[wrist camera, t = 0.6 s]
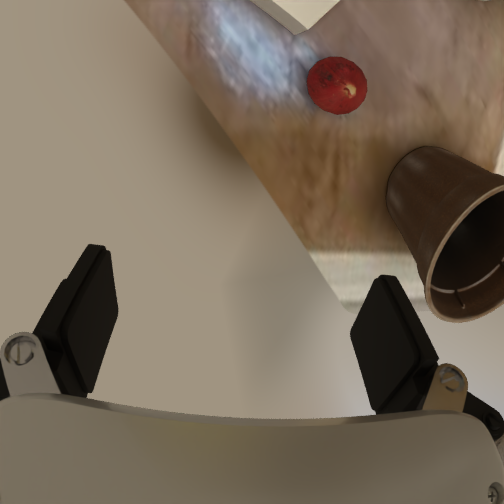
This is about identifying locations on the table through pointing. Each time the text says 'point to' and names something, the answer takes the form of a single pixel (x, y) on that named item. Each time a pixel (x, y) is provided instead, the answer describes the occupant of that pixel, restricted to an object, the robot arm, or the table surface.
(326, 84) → the onion
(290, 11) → the cover
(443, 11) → the table surface
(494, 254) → the plant pot
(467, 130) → the table surface
